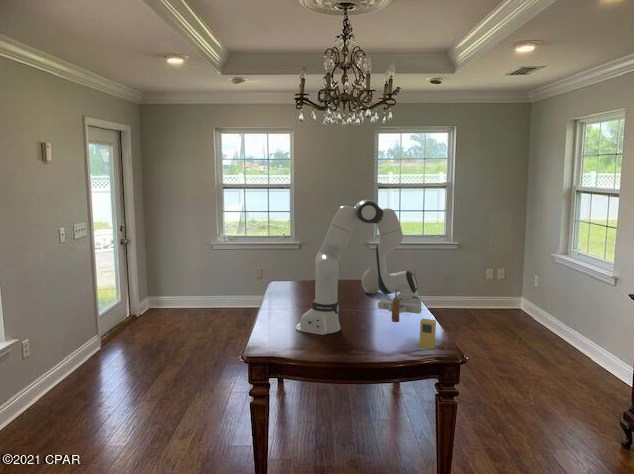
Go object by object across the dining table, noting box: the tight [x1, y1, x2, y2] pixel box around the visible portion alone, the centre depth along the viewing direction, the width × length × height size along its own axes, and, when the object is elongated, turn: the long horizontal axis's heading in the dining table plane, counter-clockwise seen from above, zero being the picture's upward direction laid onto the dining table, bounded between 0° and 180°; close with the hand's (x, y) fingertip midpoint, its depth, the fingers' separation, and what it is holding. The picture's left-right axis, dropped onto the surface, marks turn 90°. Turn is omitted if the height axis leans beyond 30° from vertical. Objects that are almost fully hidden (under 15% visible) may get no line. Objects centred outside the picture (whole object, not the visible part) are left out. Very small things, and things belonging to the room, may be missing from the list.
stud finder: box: [419, 318, 437, 350], centre depth 213 cm, size 4×6×12 cm
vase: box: [361, 266, 380, 295], centre depth 309 cm, size 13×13×17 cm
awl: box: [391, 289, 400, 323], centre depth 218 cm, size 3×3×15 cm
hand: (395, 310), depth 218 cm, fingers closed on awl, 3 cm apart
